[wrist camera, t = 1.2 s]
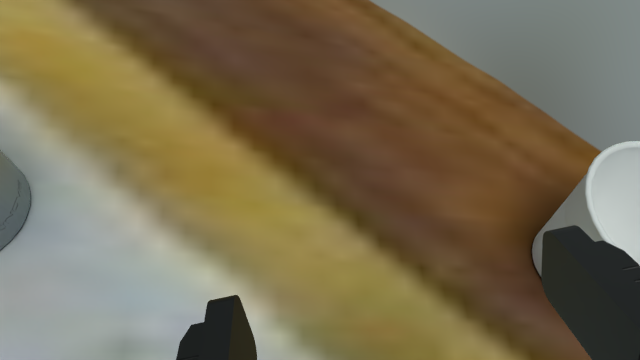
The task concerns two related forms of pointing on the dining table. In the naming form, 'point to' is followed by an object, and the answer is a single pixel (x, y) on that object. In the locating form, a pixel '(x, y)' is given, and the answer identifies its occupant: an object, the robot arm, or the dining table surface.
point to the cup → (603, 202)
